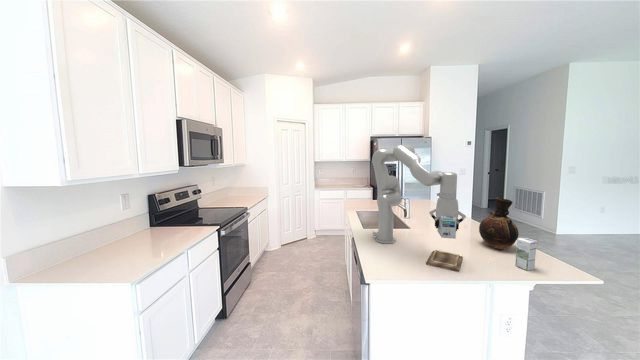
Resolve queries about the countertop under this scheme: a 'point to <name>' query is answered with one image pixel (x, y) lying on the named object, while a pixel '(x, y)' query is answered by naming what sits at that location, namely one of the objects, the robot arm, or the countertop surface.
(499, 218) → the ceramic vessel
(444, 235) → the light bulb box
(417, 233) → the countertop surface
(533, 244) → the syrup box
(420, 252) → the countertop surface
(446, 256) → the brown shallow tray
